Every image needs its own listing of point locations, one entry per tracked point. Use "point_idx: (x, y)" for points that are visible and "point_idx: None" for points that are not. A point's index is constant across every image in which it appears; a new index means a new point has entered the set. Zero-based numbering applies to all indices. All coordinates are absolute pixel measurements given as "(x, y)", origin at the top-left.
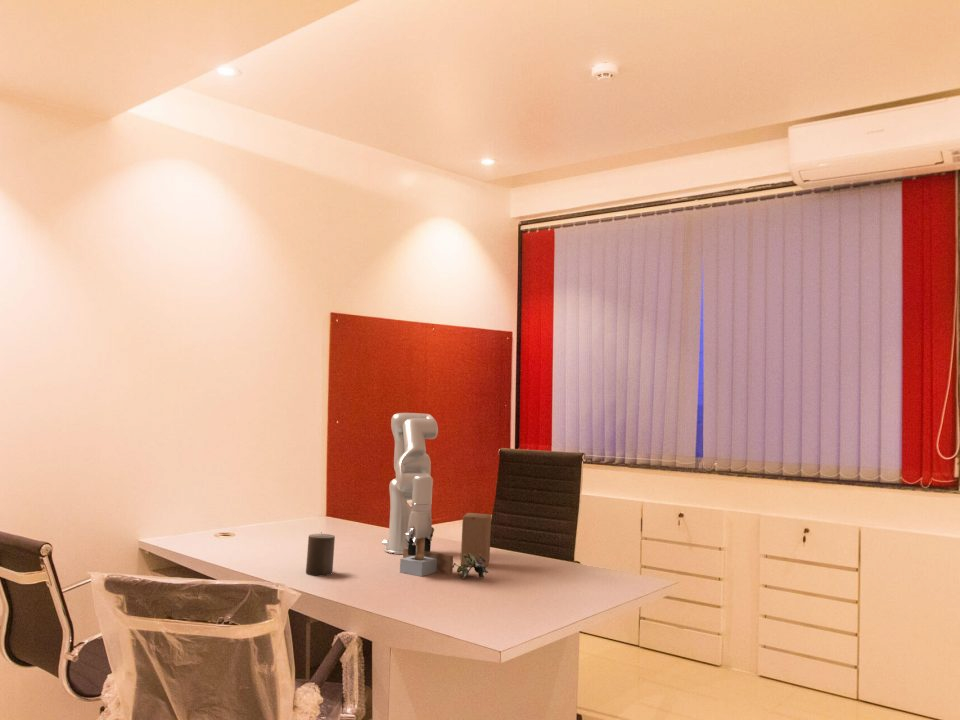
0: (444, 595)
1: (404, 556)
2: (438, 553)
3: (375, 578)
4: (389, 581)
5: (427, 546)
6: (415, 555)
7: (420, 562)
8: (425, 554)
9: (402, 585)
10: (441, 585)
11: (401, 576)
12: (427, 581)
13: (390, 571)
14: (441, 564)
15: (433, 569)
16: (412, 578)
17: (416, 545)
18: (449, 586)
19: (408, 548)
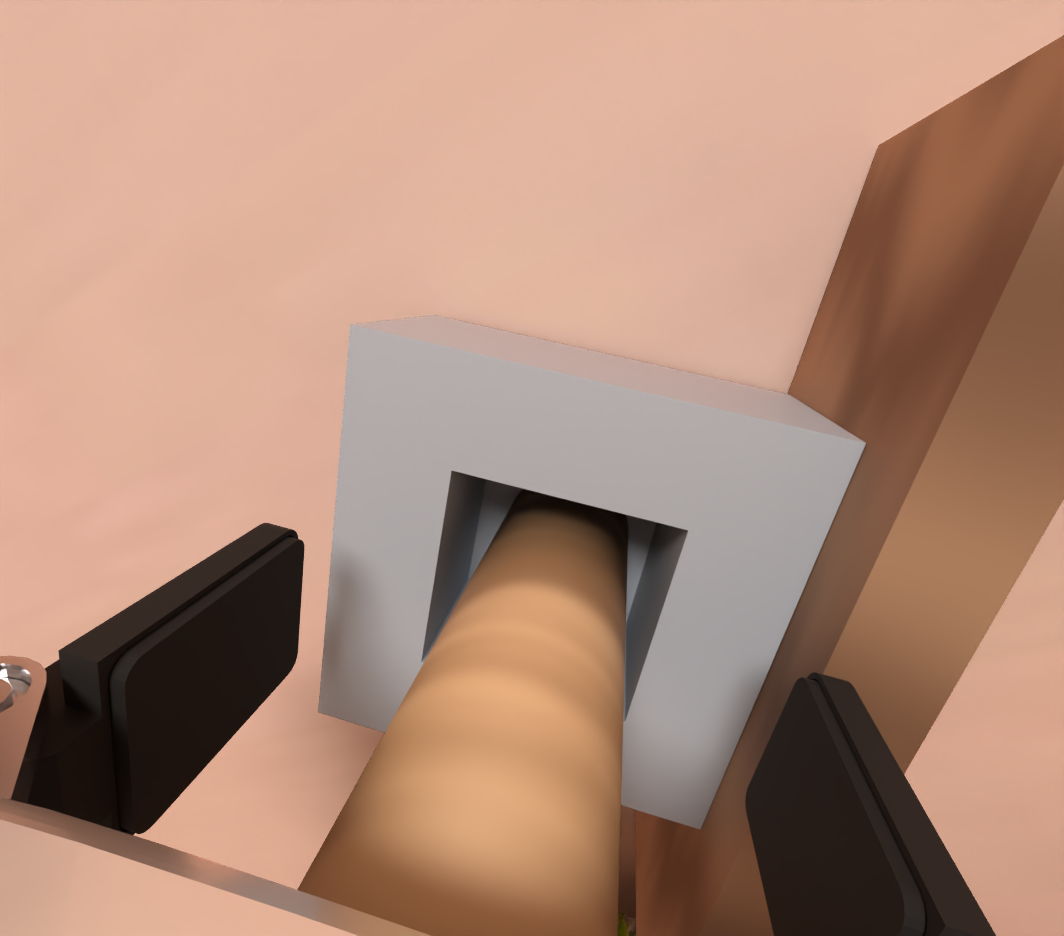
0: None
1: (961, 129)
2: (764, 920)
3: (38, 182)
4: (53, 388)
5: (789, 873)
6: (461, 595)
7: (323, 688)
8: (793, 672)
9: (34, 552)
10: (244, 811)
11: (298, 410)
12: (285, 694)
13: (445, 156)
14: (669, 821)
15: None
16: None
17: (368, 763)
18: (257, 861)
19: (171, 588)
